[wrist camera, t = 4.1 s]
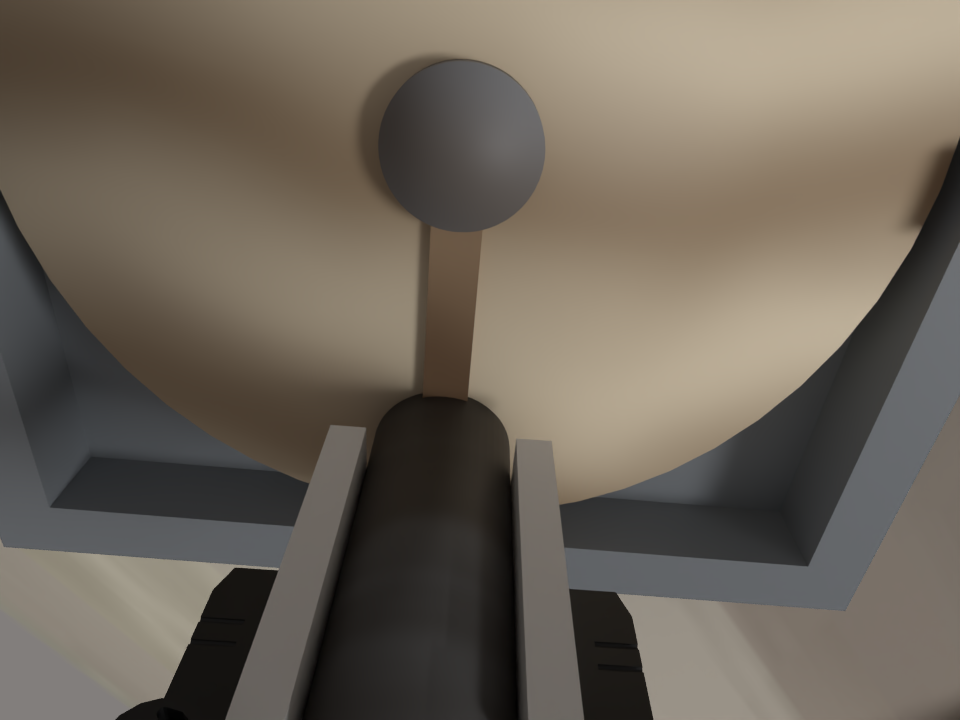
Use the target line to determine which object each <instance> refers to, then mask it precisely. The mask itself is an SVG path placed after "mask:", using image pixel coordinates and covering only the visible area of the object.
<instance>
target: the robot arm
mask: <svg viewBox="0 0 960 720" xmlns="http://www.w3.org/2000/svg"><path fill="white" fill-rule="evenodd" d="M366 469H367V448H366V427H352V426H338V425H330V428H329V431H328V434H327V436H326V439H325V442H324V445H323V447H322V450H321V453H320V456H319V459H318V461H317V464H316V467H315V470H314V473H313V475H312V478H311V481H310V484H309V487H308V489H307V492H306V495H305V498H304V501H303V503H302V506H301V509H300V512H299V515H298V517H297V520H296V523H295V526H294V529H293V531H292V534H291V537H290V540H289V543H288V545H287V548H286V551H285V554H284V557H283V559H282V562H281V565H280V568H279V571H277V570H262V569H248V568H234V569H233V570H232V571H231V572H230V573H229V574H228V575H227V576H226V577H225V578H224V579H223V580H222V581H221V582H220V583H219V584H218V585H217V586H216V587H215V588H214V589H213V591H212V593H211V595H210V598H209V600H208V602H207V604H206V606H205V609H204V611H203V613H202V615H201V620H200V622H198V624H197V626H196V629H195V631H194V633H193V635H192V637H191V643H190V644H188V646H187V649H186V651H185V653H184V655H183V657H182V660H181V662H180V664H179V666H178V669H177V671H176V673H175V675H174V677H173V680H172V682H171V684H170V686H169V688H168V691H167V693H166V695H165V697H164V698H161V699H157V700H152V701H148V702H144V703H140V704H139V705H137V706H135V707H133V708H132V709H130V710H128V711H126V712H125V713H123V714H121V715H120V716H119V717H118V718H117V719H116V720H302V718H303V715H304V711H305V707H306V703H307V699H308V695H309V691H310V687H311V683H312V679H313V675H314V672H315V668H316V664H317V660H318V656H319V652H320V648H321V644H322V640H323V636H324V633H325V629H326V625H327V621H328V617H329V613H330V609H331V605H332V601H333V597H334V594H335V590H336V586H337V582H338V578H339V574H340V570H341V566H342V562H343V558H344V554H345V551H346V547H347V543H348V539H349V535H350V531H351V527H352V523H353V519H354V515H355V512H356V508H357V504H358V500H359V496H360V492H361V488H362V484H363V480H364V476H365V472H366ZM511 514H512V550H513V586H514V621H515V657H516V693H517V720H653V716H652V711H651V706H650V701H649V696H648V692H647V687H646V682H645V677H644V673H643V672H642V663H641V658H640V653H639V650H638V648H637V645H638V643H637V639H636V634H635V629H634V624H633V619H632V616H631V615H630V613H629V612H628V610H627V609H626V607H625V606H624V604H623V603H622V601H621V600H620V598H619V596H618V595H617V593H616V592H608V591H593V590H578V589H569V586H568V577H567V568H566V560H565V551H564V543H563V534H562V526H561V517H560V508H559V500H558V491H557V483H556V474H555V465H554V457H553V448H552V441H544V440H531V439H517V438H516V445H515V453H514V461H513V469H512V477H511Z"/></svg>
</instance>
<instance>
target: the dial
mask: <svg viewBox="0 0 960 720" xmlns="http://www.w3.org/2000/svg"><path fill="white" fill-rule="evenodd" d="M959 138H960V0H0V190H1V192H2V194H3V196H4V199H5V201H6V203H7V205H8V207H9V209H10V211H11V213H12V215H13V218H14V220H15V222H16V224H17V226H18V228H19V230H20V231H21V233H22V234H23V236H24V238H25V239H26V241H27V243H28V244H29V246H30V248H31V249H32V251H33V252H34V254H35V256H36V257H37V259H38V261H39V262H40V264H41V266H42V267H43V269H44V270H45V272H46V274H47V275H48V277H49V279H50V280H51V282H52V283H53V284H54V286H55V287H56V288H57V289H58V291H59V292H60V293H61V295H62V296H63V297H64V299H65V300H66V301H67V303H68V304H69V305H70V306H71V308H72V309H73V310H74V312H75V313H76V314H77V316H78V317H79V318H80V320H81V321H82V322H83V323H84V325H85V326H86V327H87V328H88V330H89V331H90V332H91V333H92V334H93V335H94V336H95V337H96V338H97V339H98V340H99V341H100V342H101V343H102V344H103V345H104V347H105V348H106V349H107V350H108V351H109V352H110V353H111V354H112V355H113V356H114V357H115V358H116V359H117V360H118V361H119V362H120V363H121V365H122V366H123V367H124V368H125V369H126V370H127V371H129V372H130V373H131V374H132V375H133V376H134V377H135V378H137V379H138V380H139V381H140V382H141V383H142V384H144V385H145V386H146V387H147V388H148V389H149V390H150V391H152V392H153V393H154V394H155V395H156V396H157V397H159V398H160V399H161V400H162V401H163V402H164V403H165V404H167V405H168V406H169V407H171V408H172V409H174V410H175V411H176V412H178V413H179V414H181V415H182V416H184V417H185V418H186V419H188V420H189V421H191V422H192V423H193V424H195V425H196V426H198V427H199V428H201V429H202V430H203V431H205V432H206V433H208V434H209V435H211V436H212V437H214V438H216V439H218V440H219V441H221V442H223V443H225V444H227V445H228V446H230V447H232V448H234V449H235V450H237V451H239V452H241V453H242V454H244V455H246V456H248V457H249V458H251V459H253V460H255V461H257V462H260V463H262V464H264V465H266V466H268V467H271V468H273V469H275V470H277V471H280V472H282V473H284V474H286V475H289V476H291V477H293V478H295V479H298V480H300V481H303V482H306V483H309V484H310V481H311V478H312V475H313V473H314V470H315V467H316V464H317V461H318V459H319V456H320V453H321V450H322V447H323V445H324V442H325V439H326V436H327V434H328V431H329V428H330V425H338V426H352V427H366V448H367V469H366V472H365V476H364V480H363V484H362V488H361V492H360V496H359V500H358V504H357V508H356V512H355V515H354V519H353V523H352V527H351V531H350V535H349V539H348V543H347V547H346V551H345V554H344V558H343V562H342V566H341V570H340V574H339V578H338V582H337V586H336V590H335V594H334V597H333V601H332V605H331V609H330V613H329V617H328V621H327V625H326V629H325V633H324V636H323V640H322V644H321V648H320V652H319V656H318V660H317V664H316V668H315V672H314V675H313V679H312V683H311V687H310V691H309V695H308V699H307V703H306V707H305V711H304V715H303V718H302V720H517V693H516V657H515V621H514V586H513V550H512V514H511V477H512V469H513V461H514V453H515V445H516V438H517V439H531V440H544V441H552V448H553V457H554V465H555V474H556V483H557V491H558V500H559V505H560V504H566V503H572V502H578V501H582V500H585V499H589V498H592V497H596V496H600V495H603V494H607V493H610V492H614V491H618V490H621V489H625V488H627V487H630V486H632V485H635V484H638V483H640V482H643V481H645V480H648V479H651V478H653V477H656V476H658V475H661V474H663V473H666V472H669V471H671V470H673V469H675V468H677V467H679V466H681V465H683V464H685V463H687V462H689V461H691V460H692V459H694V458H696V457H698V456H700V455H702V454H704V453H706V452H708V451H710V450H712V449H714V448H716V447H717V446H719V445H720V444H722V443H724V442H725V441H727V440H728V439H730V438H731V437H733V436H734V435H736V434H737V433H739V432H741V431H742V430H744V429H745V428H747V427H748V426H750V425H751V424H753V423H754V422H756V421H758V420H759V419H760V418H761V417H763V416H764V415H765V414H766V413H768V412H769V411H770V410H771V409H773V408H774V407H775V406H776V405H778V404H779V403H780V402H781V401H783V400H784V399H785V398H786V397H788V396H789V395H790V394H791V393H793V392H794V391H795V390H796V389H798V388H799V387H800V386H801V385H802V384H803V383H804V382H805V381H806V380H807V379H808V378H809V377H810V376H811V375H812V374H813V373H814V372H815V371H816V370H817V369H818V368H819V367H820V366H821V365H822V364H823V363H824V362H825V361H826V360H827V359H828V358H829V357H830V356H831V355H832V354H833V353H834V352H835V351H836V350H837V349H838V348H839V347H840V346H841V345H842V344H843V343H844V342H845V340H846V339H847V338H848V337H849V335H850V334H851V333H852V332H853V330H854V329H855V328H856V327H857V326H858V324H859V323H860V322H861V321H862V319H863V318H864V317H865V316H866V314H867V313H868V312H869V311H870V310H871V308H872V307H873V306H874V305H875V303H876V302H877V301H878V299H879V298H880V296H881V295H882V293H883V292H884V290H885V289H886V287H887V286H888V284H889V282H890V281H891V279H892V278H893V276H894V275H895V273H896V272H897V270H898V269H899V267H900V265H901V264H902V262H903V261H904V259H905V258H906V256H907V255H908V253H909V252H910V250H911V248H912V246H913V244H914V242H915V240H916V238H917V236H918V234H919V232H920V230H921V228H922V226H923V224H924V222H925V220H926V218H927V216H928V214H929V212H930V210H931V208H932V206H933V204H934V202H935V200H936V198H937V196H938V194H939V192H940V190H941V188H942V185H943V182H944V179H945V177H946V174H947V171H948V168H949V166H950V163H951V160H952V157H953V155H954V152H955V149H956V146H957V144H958V141H959Z"/></svg>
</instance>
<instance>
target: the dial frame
mask: <svg viewBox="0 0 960 720" xmlns="http://www.w3.org/2000/svg"><path fill="white" fill-rule="evenodd" d="M959 395H960V138H959V141H958V144H957V146H956V149H955V152H954V155H953V157H952V160H951V163H950V166H949V168H948V171H947V174H946V177H945V179H944V182H943V185H942V188H941V190H940V192H939V194H938V196H937V198H936V200H935V202H934V204H933V206H932V208H931V210H930V212H929V214H928V216H927V218H926V220H925V222H924V224H923V226H922V228H921V230H920V232H919V234H918V236H917V238H916V240H915V242H914V244H913V246H912V248H911V250H910V252H909V253H908V255H907V256H906V258H905V259H904V261H903V262H902V264H901V265H900V267H899V269H898V270H897V272H896V273H895V275H894V276H893V278H892V279H891V281H890V282H889V284H888V286H887V287H886V289H885V290H884V292H883V293H882V295H881V296H880V298H879V299H878V301H877V302H876V303H875V305H874V306H873V307H872V308H871V310H870V311H869V312H868V313H867V314H866V316H865V317H864V318H863V319H862V321H861V322H860V323H859V324H858V326H857V327H856V328H855V329H854V330H853V332H852V333H851V334H850V335H849V337H848V338H847V339H846V340H845V342H844V343H843V344H842V345H841V346H840V347H839V348H838V349H837V350H836V351H835V352H834V353H833V354H832V355H831V356H830V357H829V358H828V359H827V360H826V361H825V362H824V363H823V364H822V365H821V366H820V367H819V368H818V369H817V370H816V371H815V372H814V373H813V374H812V375H811V376H810V377H809V378H808V379H807V380H806V381H805V382H804V383H803V384H802V385H801V386H800V387H799V388H798V389H796V390H795V391H794V392H793V393H791V394H790V395H789V396H788V397H786V398H785V399H784V400H783V401H781V402H780V403H779V404H778V405H776V406H775V407H774V408H773V409H771V410H770V411H769V412H768V413H766V414H765V415H764V416H763V417H761V418H760V419H759V420H758V421H756V422H754V423H753V424H751V425H750V426H748V427H747V428H745V429H744V430H742V431H741V432H739V433H737V434H736V435H734V436H733V437H731V438H730V439H728V440H727V441H725V442H724V443H722V444H720V445H719V446H717V447H716V448H714V449H712V450H710V451H708V452H706V453H704V454H702V455H700V456H698V457H696V458H694V459H692V460H691V461H689V462H687V463H685V464H683V465H681V466H679V467H677V468H675V469H673V470H671V471H669V472H666V473H663V474H661V475H658V476H656V477H653V478H651V479H648V480H645V481H643V482H640V483H638V484H635V485H632V486H630V487H627V488H625V489H621V490H618V491H614V492H610V493H607V494H603V495H600V496H596V497H592V498H589V499H585V500H582V501H578V502H572V503H566V504H560V505H559V508H560V517H561V526H562V534H563V543H564V551H565V560H566V568H567V577H568V586H569V589H578V590H593V591H608V592H616V593H617V594H630V595H643V596H656V597H669V598H683V599H696V600H709V601H722V602H735V603H748V604H761V605H775V606H788V607H801V608H814V609H827V610H840V611H845V610H846V608H847V606H848V605H849V603H850V601H851V599H852V597H853V595H854V593H855V591H856V590H857V588H858V586H859V584H860V582H861V580H862V578H863V576H864V574H865V573H866V571H867V569H868V567H869V565H870V563H871V561H872V559H873V557H874V556H875V554H876V552H877V550H878V548H879V546H880V544H881V542H882V540H883V539H884V537H885V535H886V533H887V531H888V529H889V527H890V525H891V523H892V522H893V520H894V518H895V516H896V514H897V512H898V510H899V508H900V506H901V505H902V503H903V501H904V499H905V497H906V495H907V493H908V491H909V490H910V488H911V486H912V484H913V482H914V480H915V478H916V476H917V474H918V473H919V471H920V469H921V467H922V465H923V463H924V461H925V459H926V457H927V456H928V454H929V452H930V450H931V448H932V446H933V444H934V442H935V440H936V439H937V437H938V435H939V433H940V431H941V429H942V427H943V425H944V423H945V422H946V420H947V418H948V416H949V414H950V412H951V410H952V408H953V407H954V405H955V403H956V401H957V399H958V397H959ZM308 487H309V483H306V482H303V481H300V480H298V479H295V478H293V477H291V476H289V475H286V474H284V473H282V472H280V471H277V470H275V469H273V468H271V467H268V466H266V465H264V464H262V463H260V462H257V461H255V460H253V459H251V458H249V457H248V456H246V455H244V454H242V453H241V452H239V451H237V450H235V449H234V448H232V447H230V446H228V445H227V444H225V443H223V442H221V441H219V440H218V439H216V438H214V437H212V436H211V435H209V434H208V433H206V432H205V431H203V430H202V429H201V428H199V427H198V426H196V425H195V424H193V423H192V422H191V421H189V420H188V419H186V418H185V417H184V416H182V415H181V414H179V413H178V412H176V411H175V410H174V409H172V408H171V407H169V406H168V405H167V404H165V403H164V402H163V401H162V400H161V399H160V398H159V397H157V396H156V395H155V394H154V393H153V392H152V391H150V390H149V389H148V388H147V387H146V386H145V385H144V384H142V383H141V382H140V381H139V380H138V379H137V378H135V377H134V376H133V375H132V374H131V373H130V372H129V371H127V370H126V369H125V368H124V367H123V366H122V365H121V363H120V362H119V361H118V360H117V359H116V358H115V357H114V356H113V355H112V354H111V353H110V352H109V351H108V350H107V349H106V348H105V347H104V345H103V344H102V343H101V342H100V341H99V340H98V339H97V338H96V337H95V336H94V335H93V334H92V333H91V332H90V331H89V330H88V328H87V327H86V326H85V325H84V323H83V322H82V321H81V320H80V318H79V317H78V316H77V314H76V313H75V312H74V310H73V309H72V308H71V306H70V305H69V304H68V303H67V301H66V300H65V299H64V297H63V296H62V295H61V293H60V292H59V291H58V289H57V288H56V287H55V286H54V284H53V283H52V282H51V280H50V279H49V277H48V275H47V274H46V272H45V270H44V269H43V267H42V266H41V264H40V262H39V261H38V259H37V257H36V256H35V254H34V252H33V251H32V249H31V248H30V246H29V244H28V243H27V241H26V239H25V238H24V236H23V234H22V233H21V231H20V230H19V228H18V226H17V224H16V222H15V220H14V218H13V215H12V213H11V211H10V209H9V207H8V205H7V203H6V201H5V199H4V196H3V194H2V192H1V190H0V538H1V540H2V543H3V546H4V547H12V548H26V549H39V550H52V551H65V552H78V553H91V554H104V555H118V556H131V557H144V558H157V559H170V560H183V561H196V562H210V563H223V564H236V565H249V566H262V567H275V568H280V565H281V562H282V559H283V557H284V554H285V551H286V548H287V545H288V543H289V540H290V537H291V534H292V531H293V529H294V526H295V523H296V520H297V517H298V515H299V512H300V509H301V506H302V503H303V501H304V498H305V495H306V492H307V489H308Z"/></svg>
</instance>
